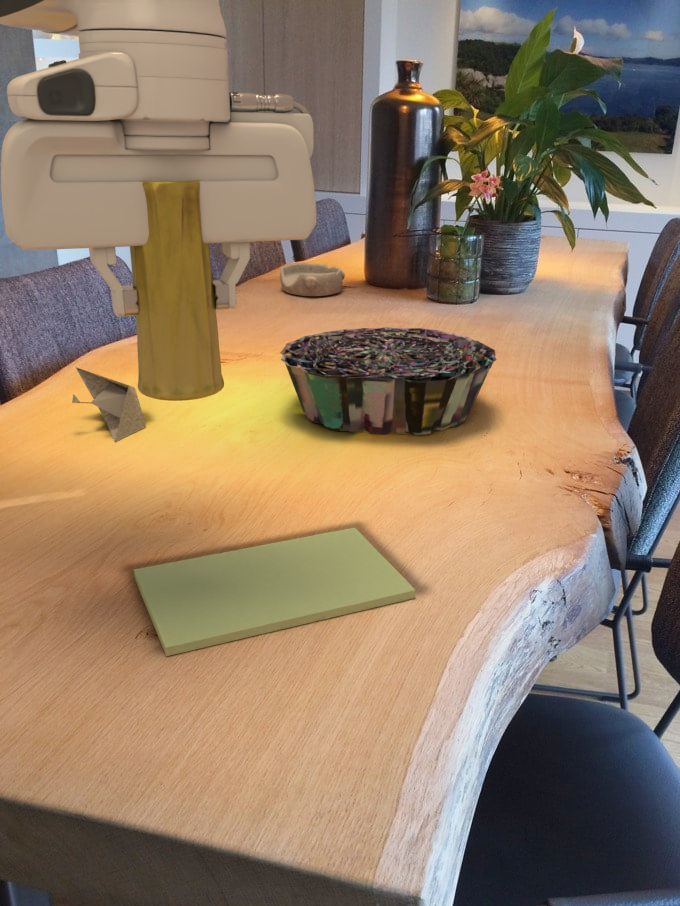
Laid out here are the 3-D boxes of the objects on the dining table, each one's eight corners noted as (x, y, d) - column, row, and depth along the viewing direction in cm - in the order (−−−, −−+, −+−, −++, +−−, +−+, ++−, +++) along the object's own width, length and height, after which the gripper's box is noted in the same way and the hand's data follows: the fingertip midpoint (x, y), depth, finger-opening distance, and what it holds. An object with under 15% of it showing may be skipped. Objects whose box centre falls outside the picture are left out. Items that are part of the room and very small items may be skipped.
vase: (196, 406, 57) (179, 183, 51) (120, 395, 58) (96, 178, 52) (239, 382, 62) (229, 177, 56) (168, 372, 64) (151, 173, 58)
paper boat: (172, 422, 99) (104, 420, 92) (148, 458, 102) (81, 459, 95) (130, 352, 104) (63, 345, 96) (109, 388, 107) (42, 384, 100)
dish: (318, 301, 171) (318, 276, 168) (266, 292, 177) (265, 268, 175) (357, 290, 182) (358, 267, 180) (307, 282, 188) (307, 260, 186)
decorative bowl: (512, 457, 99) (527, 377, 95) (282, 449, 94) (287, 364, 90) (458, 392, 122) (468, 325, 118) (271, 383, 117) (274, 313, 113)
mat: (166, 656, 59) (165, 647, 58) (134, 577, 68) (133, 569, 68) (415, 598, 67) (416, 589, 66) (354, 534, 76) (355, 527, 76)
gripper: (296, 95, 59) (299, 293, 64) (-20, 84, 50) (16, 312, 56) (330, 94, 53) (330, 309, 59) (-16, 82, 45) (24, 333, 51)
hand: (175, 311), depth 58 cm, fingers closed on vase, 5 cm apart
